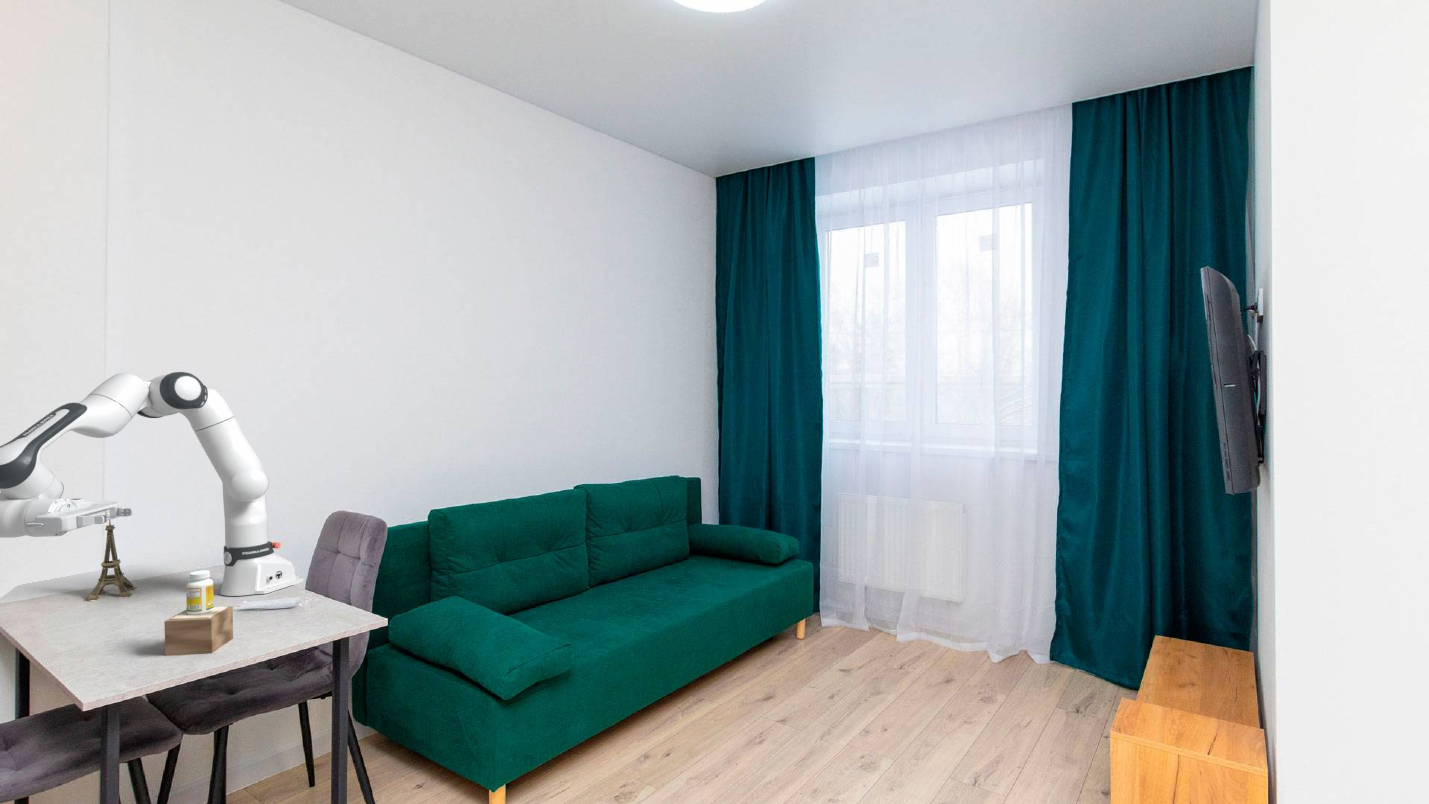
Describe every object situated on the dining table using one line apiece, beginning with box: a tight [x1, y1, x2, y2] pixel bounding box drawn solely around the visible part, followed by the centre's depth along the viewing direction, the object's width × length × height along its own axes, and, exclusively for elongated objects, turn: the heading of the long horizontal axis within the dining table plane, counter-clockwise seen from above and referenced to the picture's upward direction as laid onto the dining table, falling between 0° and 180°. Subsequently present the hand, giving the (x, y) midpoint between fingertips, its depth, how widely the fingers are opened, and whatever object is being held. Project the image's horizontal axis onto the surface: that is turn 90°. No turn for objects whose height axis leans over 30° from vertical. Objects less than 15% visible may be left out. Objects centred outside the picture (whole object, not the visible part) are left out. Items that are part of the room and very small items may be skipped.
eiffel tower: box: [84, 519, 138, 602], centre depth 220 cm, size 11×11×25 cm
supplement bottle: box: [185, 569, 215, 615], centre depth 177 cm, size 5×5×10 cm
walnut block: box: [163, 605, 234, 656], centre depth 177 cm, size 10×10×8 cm
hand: (118, 515), depth 175 cm, fingers open, 8 cm apart
